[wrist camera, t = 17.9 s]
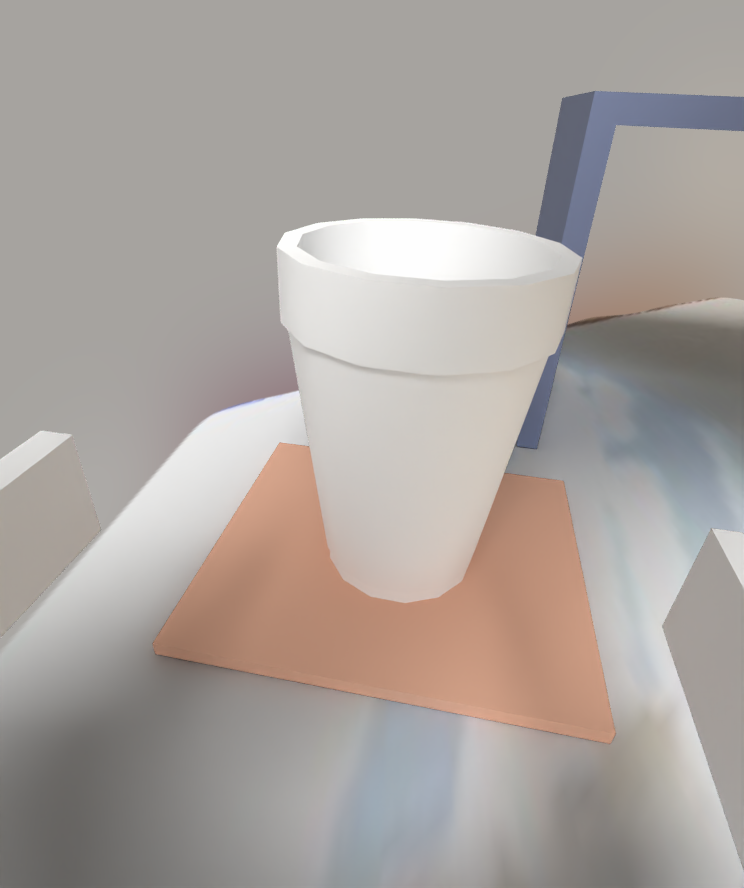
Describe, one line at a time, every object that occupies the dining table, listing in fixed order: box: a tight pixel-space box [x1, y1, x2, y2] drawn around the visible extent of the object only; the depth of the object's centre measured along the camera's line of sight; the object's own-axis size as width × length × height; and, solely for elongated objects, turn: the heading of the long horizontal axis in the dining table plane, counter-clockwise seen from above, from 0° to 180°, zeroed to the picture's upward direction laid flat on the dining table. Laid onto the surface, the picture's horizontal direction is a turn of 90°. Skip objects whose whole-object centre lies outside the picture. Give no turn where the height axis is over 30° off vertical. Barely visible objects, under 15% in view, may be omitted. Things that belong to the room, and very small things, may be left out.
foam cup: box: [277, 218, 582, 603], centre depth 20 cm, size 10×9×13 cm
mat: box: [152, 443, 616, 744], centre depth 24 cm, size 16×14×1 cm
